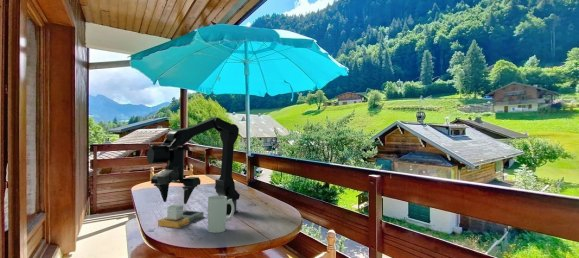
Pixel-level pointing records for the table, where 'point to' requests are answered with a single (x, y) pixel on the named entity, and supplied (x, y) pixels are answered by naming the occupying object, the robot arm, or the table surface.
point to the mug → (218, 213)
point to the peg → (175, 212)
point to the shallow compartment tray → (187, 218)
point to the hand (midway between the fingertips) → (175, 202)
